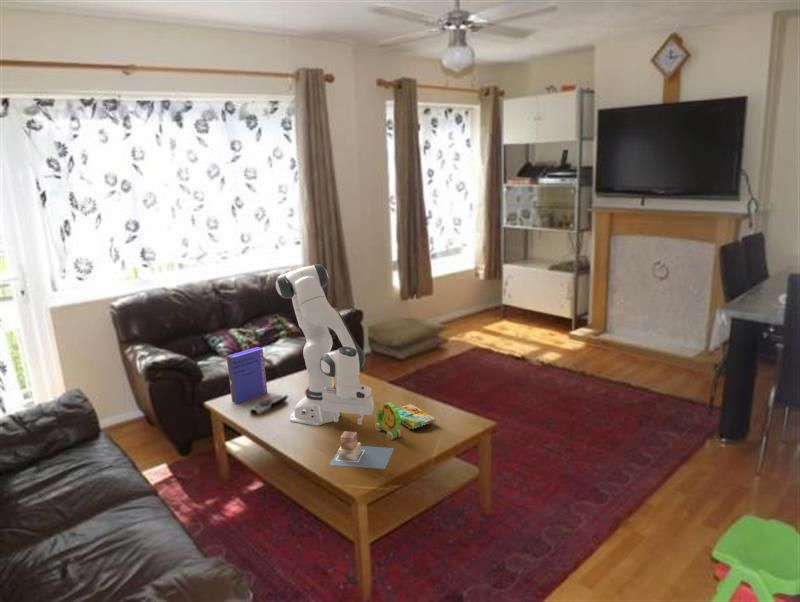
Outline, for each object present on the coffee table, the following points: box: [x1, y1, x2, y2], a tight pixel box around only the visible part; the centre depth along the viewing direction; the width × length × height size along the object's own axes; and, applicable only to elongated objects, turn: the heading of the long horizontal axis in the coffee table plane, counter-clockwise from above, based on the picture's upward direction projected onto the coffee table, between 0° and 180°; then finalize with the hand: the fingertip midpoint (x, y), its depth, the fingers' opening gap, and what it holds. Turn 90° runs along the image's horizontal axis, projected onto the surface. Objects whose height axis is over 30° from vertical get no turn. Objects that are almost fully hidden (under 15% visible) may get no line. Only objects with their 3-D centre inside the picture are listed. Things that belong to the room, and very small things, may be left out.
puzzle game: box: [396, 403, 437, 430], centre depth 252 cm, size 12×5×20 cm
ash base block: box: [337, 441, 362, 460], centre depth 224 cm, size 7×7×4 cm
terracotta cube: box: [339, 430, 358, 450], centre depth 223 cm, size 5×5×5 cm
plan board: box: [328, 445, 395, 470], centre depth 223 cm, size 22×16×1 cm
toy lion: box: [374, 402, 402, 441], centre depth 239 cm, size 16×5×15 cm, turn 33°
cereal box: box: [226, 346, 268, 404], centre depth 285 cm, size 17×5×24 cm, turn 136°
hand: (348, 422), depth 222 cm, fingers open, 8 cm apart
